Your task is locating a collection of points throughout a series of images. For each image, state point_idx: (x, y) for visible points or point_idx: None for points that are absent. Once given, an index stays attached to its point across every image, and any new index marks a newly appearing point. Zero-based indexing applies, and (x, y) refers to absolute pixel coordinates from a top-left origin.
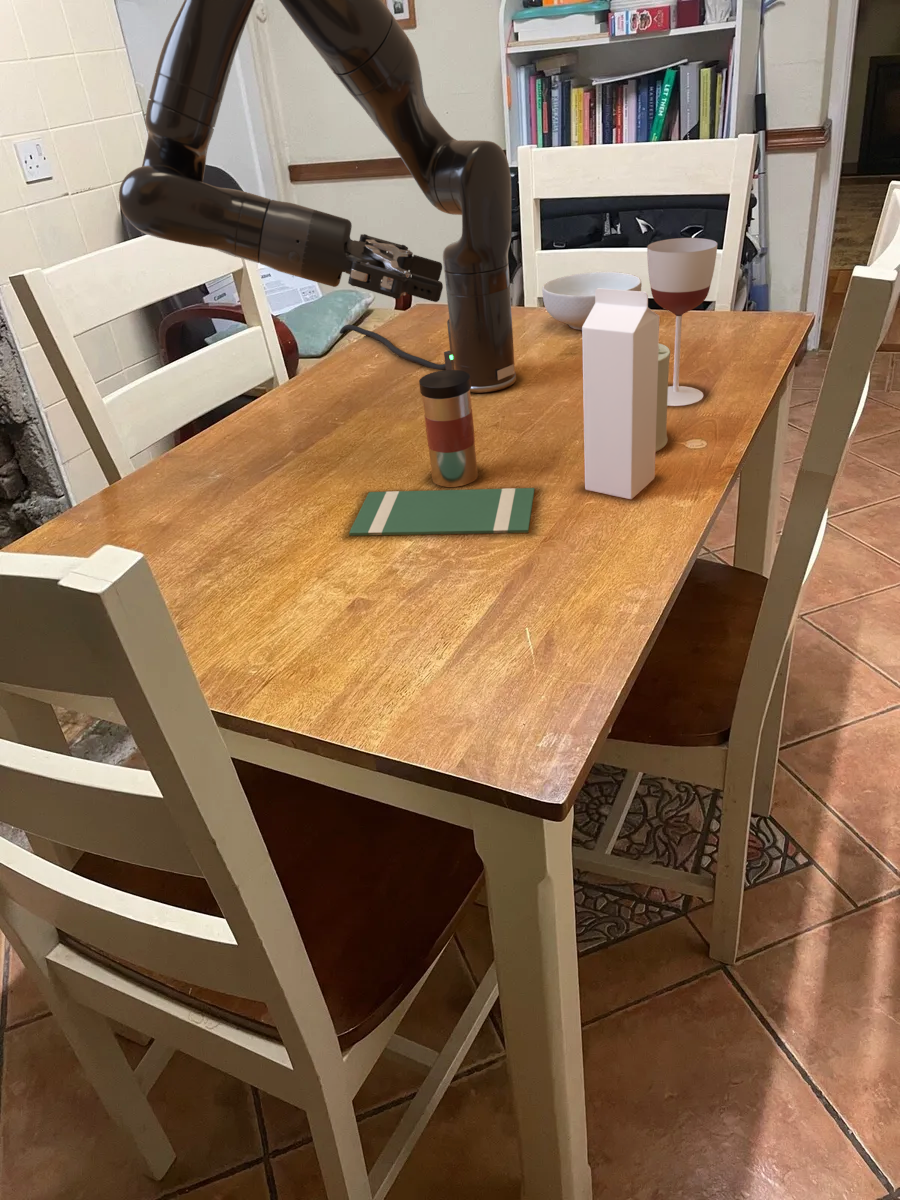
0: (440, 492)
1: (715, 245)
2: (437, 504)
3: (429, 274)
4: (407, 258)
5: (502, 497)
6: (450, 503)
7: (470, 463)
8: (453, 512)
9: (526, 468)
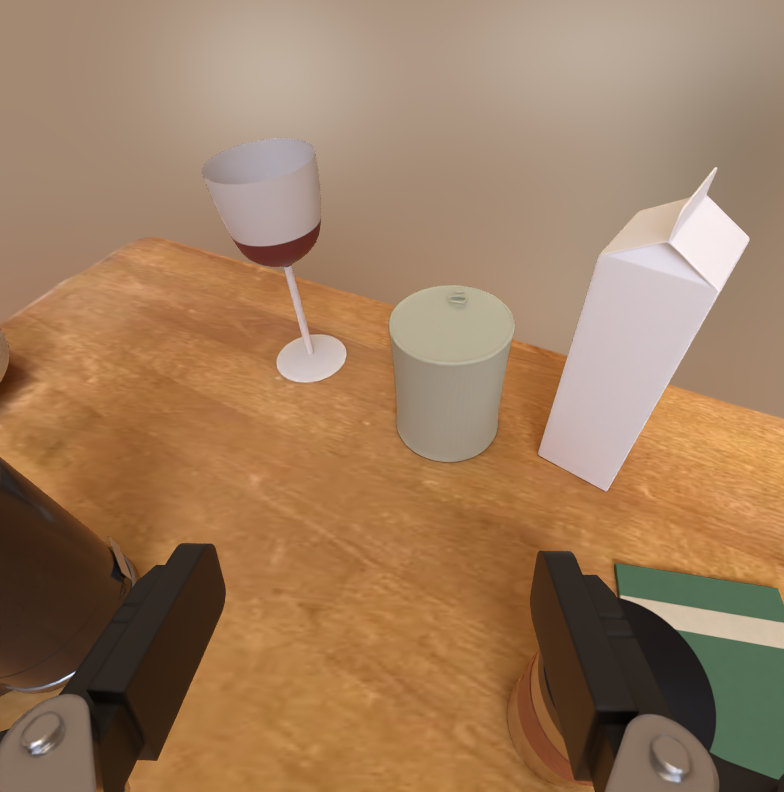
0: None
1: (274, 144)
2: None
3: (202, 625)
4: (103, 749)
5: None
6: None
7: None
8: (746, 736)
9: (522, 569)
